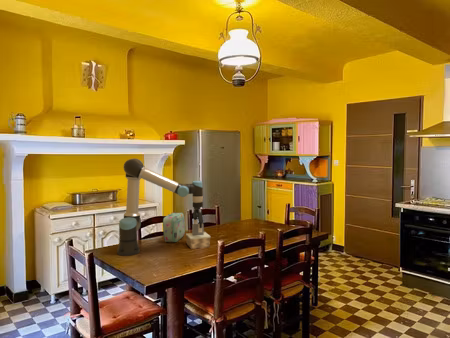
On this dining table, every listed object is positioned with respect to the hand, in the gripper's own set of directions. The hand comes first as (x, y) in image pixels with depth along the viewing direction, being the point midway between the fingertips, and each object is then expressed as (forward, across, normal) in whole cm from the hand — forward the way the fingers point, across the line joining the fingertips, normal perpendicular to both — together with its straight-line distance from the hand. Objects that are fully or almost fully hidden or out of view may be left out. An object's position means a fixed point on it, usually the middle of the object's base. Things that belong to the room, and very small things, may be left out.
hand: (198, 230), depth 259 cm
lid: (+5, 0, 0) cm, 5 cm away
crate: (+11, 0, 0) cm, 11 cm away
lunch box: (+12, +23, +13) cm, 29 cm away
